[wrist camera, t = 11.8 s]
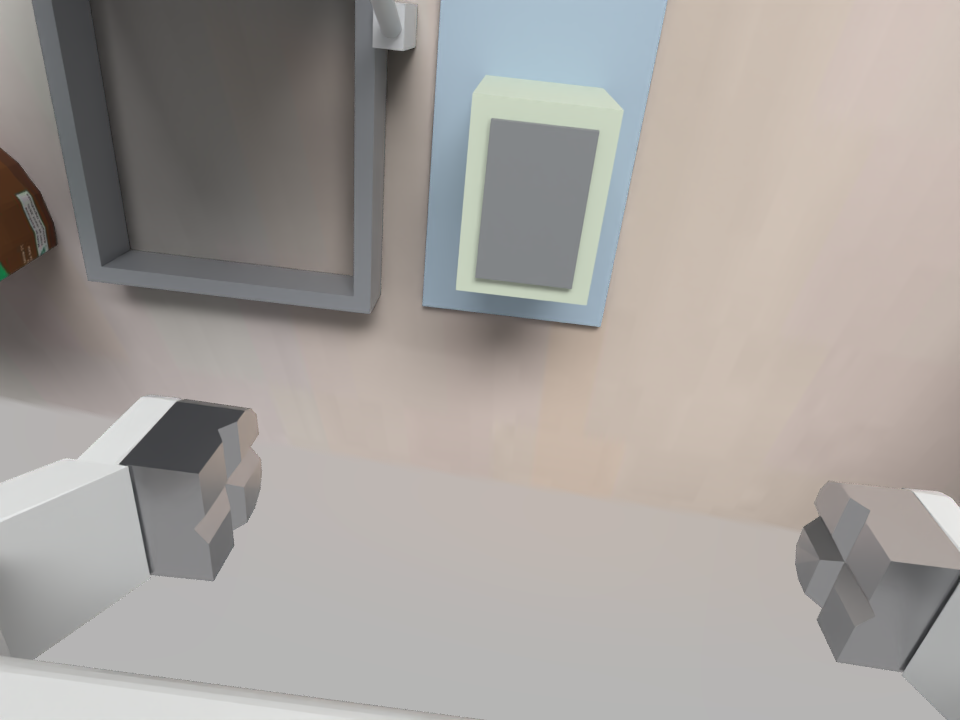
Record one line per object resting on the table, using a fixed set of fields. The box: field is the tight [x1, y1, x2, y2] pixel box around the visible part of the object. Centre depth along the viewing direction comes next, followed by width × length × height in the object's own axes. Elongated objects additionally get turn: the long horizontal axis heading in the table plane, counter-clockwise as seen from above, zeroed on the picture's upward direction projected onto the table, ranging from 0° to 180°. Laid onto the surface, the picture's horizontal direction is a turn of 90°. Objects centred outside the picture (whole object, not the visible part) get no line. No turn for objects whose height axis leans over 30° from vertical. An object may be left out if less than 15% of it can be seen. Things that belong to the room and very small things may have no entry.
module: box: [456, 75, 624, 305], centre depth 26 cm, size 5×7×7 cm
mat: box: [422, 0, 667, 327], centre depth 29 cm, size 9×15×1 cm, turn 174°
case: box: [32, 0, 418, 314], centre depth 23 cm, size 15×18×13 cm
